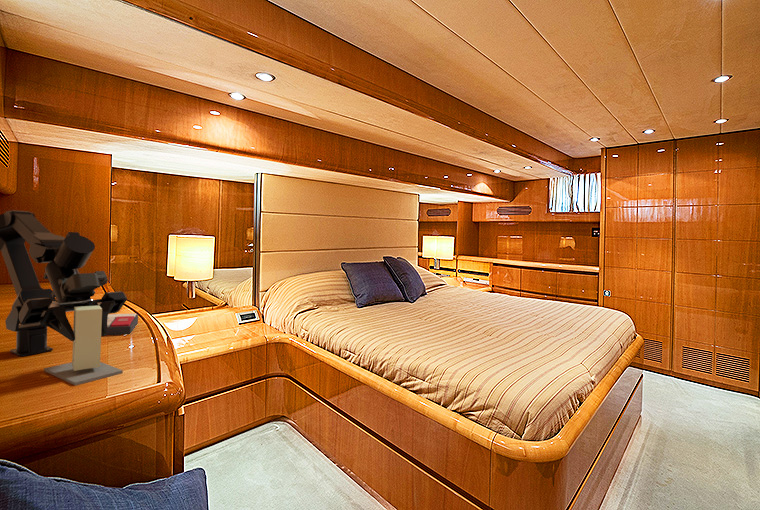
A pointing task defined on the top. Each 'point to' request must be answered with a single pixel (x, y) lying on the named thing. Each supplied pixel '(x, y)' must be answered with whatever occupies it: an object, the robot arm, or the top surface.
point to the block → (87, 337)
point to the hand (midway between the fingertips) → (89, 337)
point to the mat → (82, 373)
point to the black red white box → (121, 323)
